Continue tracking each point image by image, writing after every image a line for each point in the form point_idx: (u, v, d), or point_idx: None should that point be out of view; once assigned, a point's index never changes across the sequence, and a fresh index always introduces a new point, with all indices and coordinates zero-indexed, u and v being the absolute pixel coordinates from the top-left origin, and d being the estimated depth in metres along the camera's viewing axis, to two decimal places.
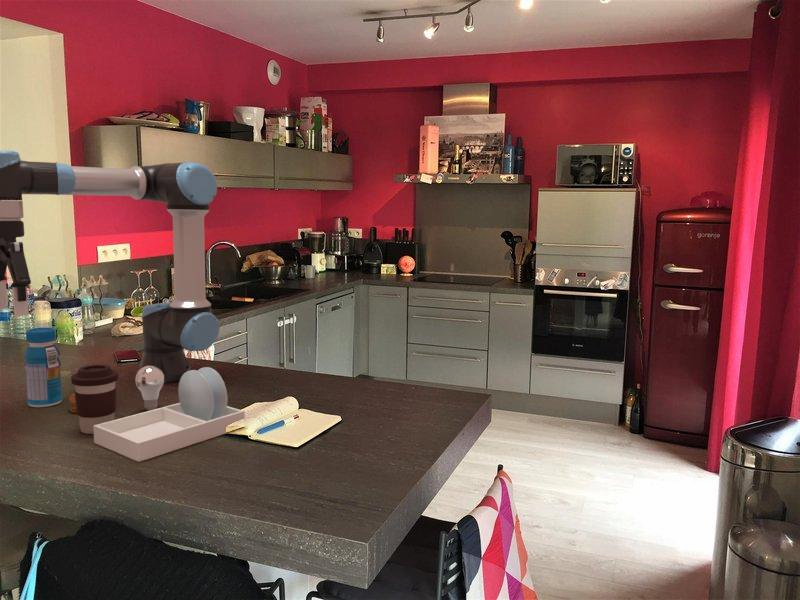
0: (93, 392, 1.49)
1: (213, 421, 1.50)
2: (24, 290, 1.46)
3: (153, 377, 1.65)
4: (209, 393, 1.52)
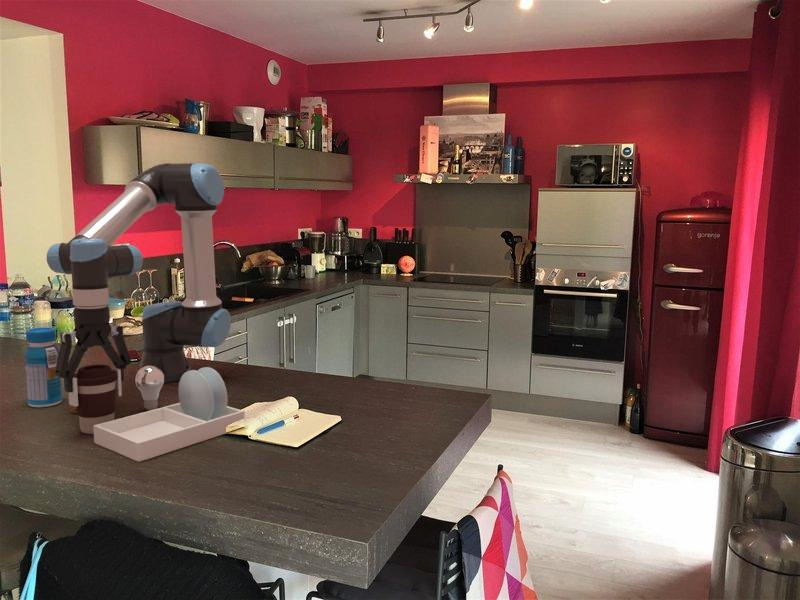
0: (92, 392, 1.49)
1: (213, 421, 1.50)
2: (66, 382, 1.47)
3: (153, 377, 1.65)
4: (209, 393, 1.52)
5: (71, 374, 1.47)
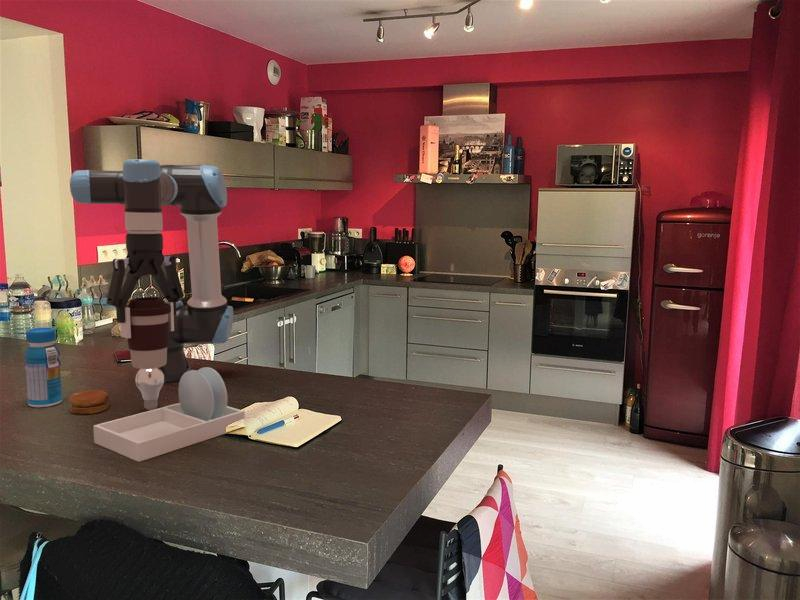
0: (146, 323, 1.40)
1: (213, 421, 1.50)
2: (119, 311, 1.38)
3: (153, 377, 1.65)
4: (209, 393, 1.52)
5: (124, 303, 1.38)
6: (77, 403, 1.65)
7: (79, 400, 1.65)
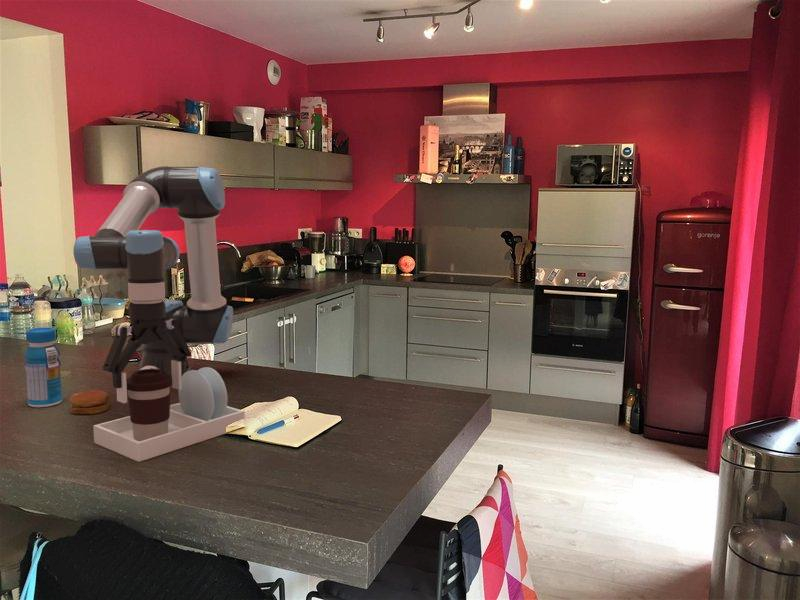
0: (148, 398, 1.42)
1: (213, 421, 1.50)
2: (115, 377, 1.39)
3: None
4: (209, 393, 1.52)
5: (120, 369, 1.39)
6: (78, 403, 1.65)
7: (79, 401, 1.65)
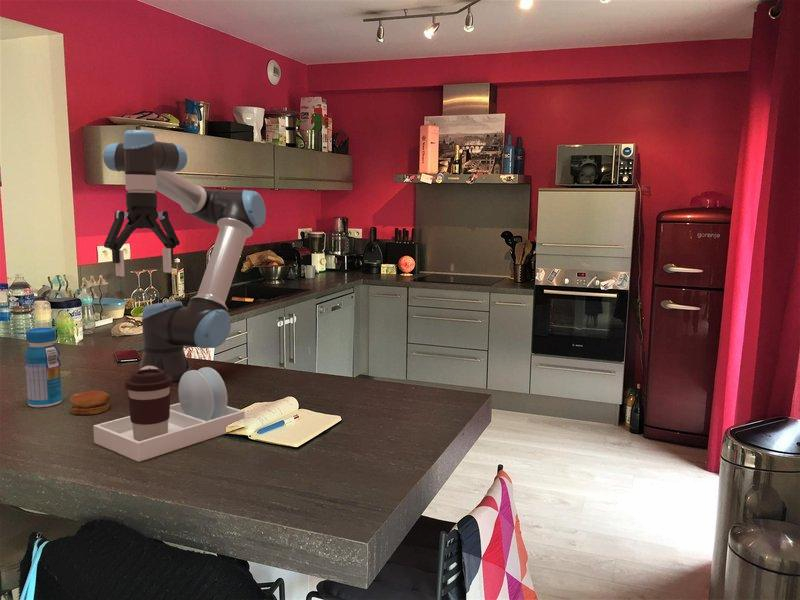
0: (148, 398, 1.42)
1: (213, 421, 1.50)
2: (114, 253, 1.64)
3: None
4: (209, 393, 1.52)
5: (119, 246, 1.64)
6: (78, 404, 1.64)
7: (79, 401, 1.65)
